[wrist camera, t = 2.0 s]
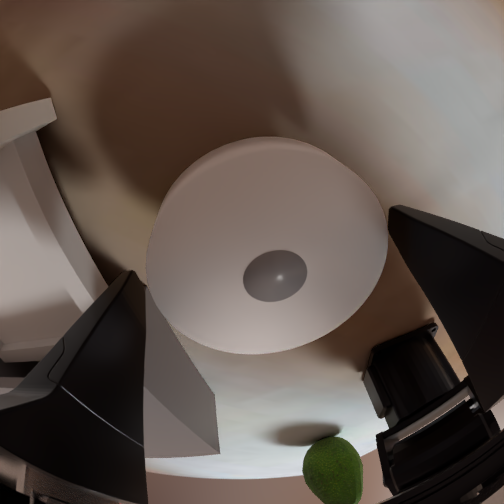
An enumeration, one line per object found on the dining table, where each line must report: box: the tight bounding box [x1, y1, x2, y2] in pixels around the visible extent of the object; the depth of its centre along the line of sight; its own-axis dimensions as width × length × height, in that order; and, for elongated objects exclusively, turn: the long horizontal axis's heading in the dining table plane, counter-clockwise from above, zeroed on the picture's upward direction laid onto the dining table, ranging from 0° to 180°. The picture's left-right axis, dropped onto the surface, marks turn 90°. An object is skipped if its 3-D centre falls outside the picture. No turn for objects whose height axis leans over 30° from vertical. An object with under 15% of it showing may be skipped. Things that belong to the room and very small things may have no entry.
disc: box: [146, 137, 388, 354], centre depth 9 cm, size 7×7×2 cm
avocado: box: [302, 437, 363, 504], centre depth 28 cm, size 8×8×12 cm
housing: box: [0, 286, 220, 458], centre depth 15 cm, size 14×12×5 cm
